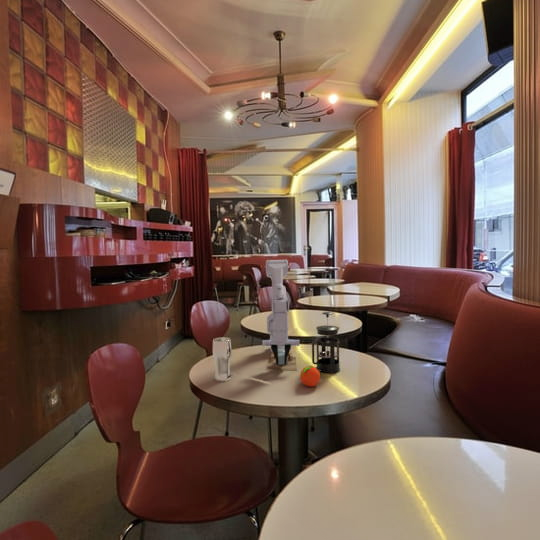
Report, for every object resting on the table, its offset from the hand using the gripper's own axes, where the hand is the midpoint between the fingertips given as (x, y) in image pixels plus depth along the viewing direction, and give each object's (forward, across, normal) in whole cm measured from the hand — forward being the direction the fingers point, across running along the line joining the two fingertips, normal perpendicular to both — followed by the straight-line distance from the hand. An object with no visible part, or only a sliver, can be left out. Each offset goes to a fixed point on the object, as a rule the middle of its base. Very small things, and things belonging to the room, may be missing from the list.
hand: (281, 363), depth 143 cm
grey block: (+2, 0, +5) cm, 5 cm away
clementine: (+3, +10, -16) cm, 19 cm away
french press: (+3, +18, +1) cm, 18 cm away
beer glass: (+3, -22, -8) cm, 24 cm away
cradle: (+3, 0, +7) cm, 8 cm away
